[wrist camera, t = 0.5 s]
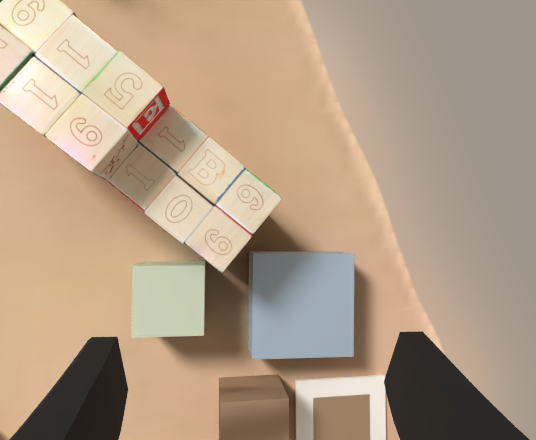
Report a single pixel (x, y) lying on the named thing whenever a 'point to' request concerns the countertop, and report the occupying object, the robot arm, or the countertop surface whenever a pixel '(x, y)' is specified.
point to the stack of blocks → (126, 129)
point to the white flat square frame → (340, 408)
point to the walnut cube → (253, 408)
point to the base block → (300, 304)
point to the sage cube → (168, 299)
